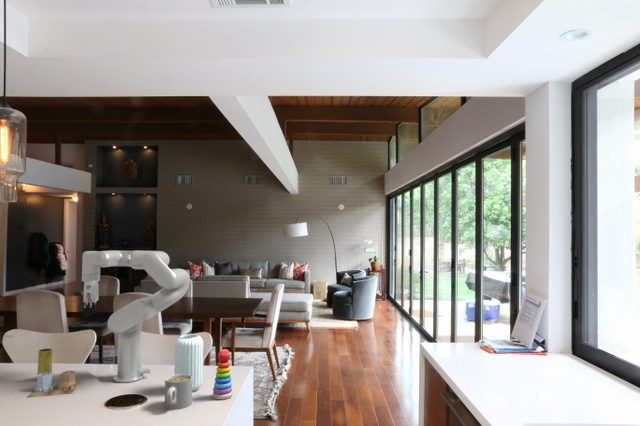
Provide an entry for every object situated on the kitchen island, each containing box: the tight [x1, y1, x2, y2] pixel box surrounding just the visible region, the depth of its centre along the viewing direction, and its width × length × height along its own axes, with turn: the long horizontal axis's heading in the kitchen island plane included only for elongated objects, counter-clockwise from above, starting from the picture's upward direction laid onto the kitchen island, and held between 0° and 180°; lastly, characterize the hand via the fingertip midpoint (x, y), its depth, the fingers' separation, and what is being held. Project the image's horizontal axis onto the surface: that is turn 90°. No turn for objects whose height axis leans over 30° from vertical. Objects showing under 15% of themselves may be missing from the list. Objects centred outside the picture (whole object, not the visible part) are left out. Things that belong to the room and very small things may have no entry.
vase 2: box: [174, 333, 204, 393], centre depth 189 cm, size 12×12×22 cm
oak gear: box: [57, 370, 79, 390], centre depth 187 cm, size 7×7×6 cm
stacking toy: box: [211, 348, 234, 400], centre depth 180 cm, size 8×8×19 cm
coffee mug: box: [164, 374, 193, 411], centre depth 170 cm, size 13×10×10 cm
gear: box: [33, 372, 56, 392], centre depth 184 cm, size 7×7×6 cm
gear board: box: [26, 372, 80, 399], centre depth 184 cm, size 16×14×8 cm
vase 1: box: [37, 348, 53, 375], centre depth 198 cm, size 6×6×14 cm
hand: (89, 314), depth 207 cm, fingers open, 9 cm apart
